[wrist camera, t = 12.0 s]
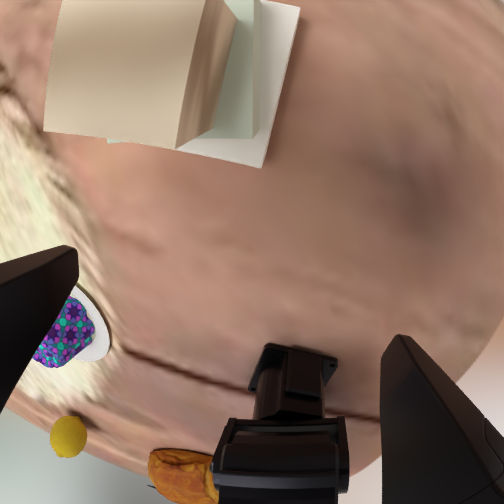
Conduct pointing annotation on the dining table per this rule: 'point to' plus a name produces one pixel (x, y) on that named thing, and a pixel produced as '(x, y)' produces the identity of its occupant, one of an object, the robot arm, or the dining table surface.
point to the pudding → (74, 334)
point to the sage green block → (239, 78)
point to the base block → (271, 81)
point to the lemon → (68, 436)
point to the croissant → (183, 476)
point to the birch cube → (138, 69)
